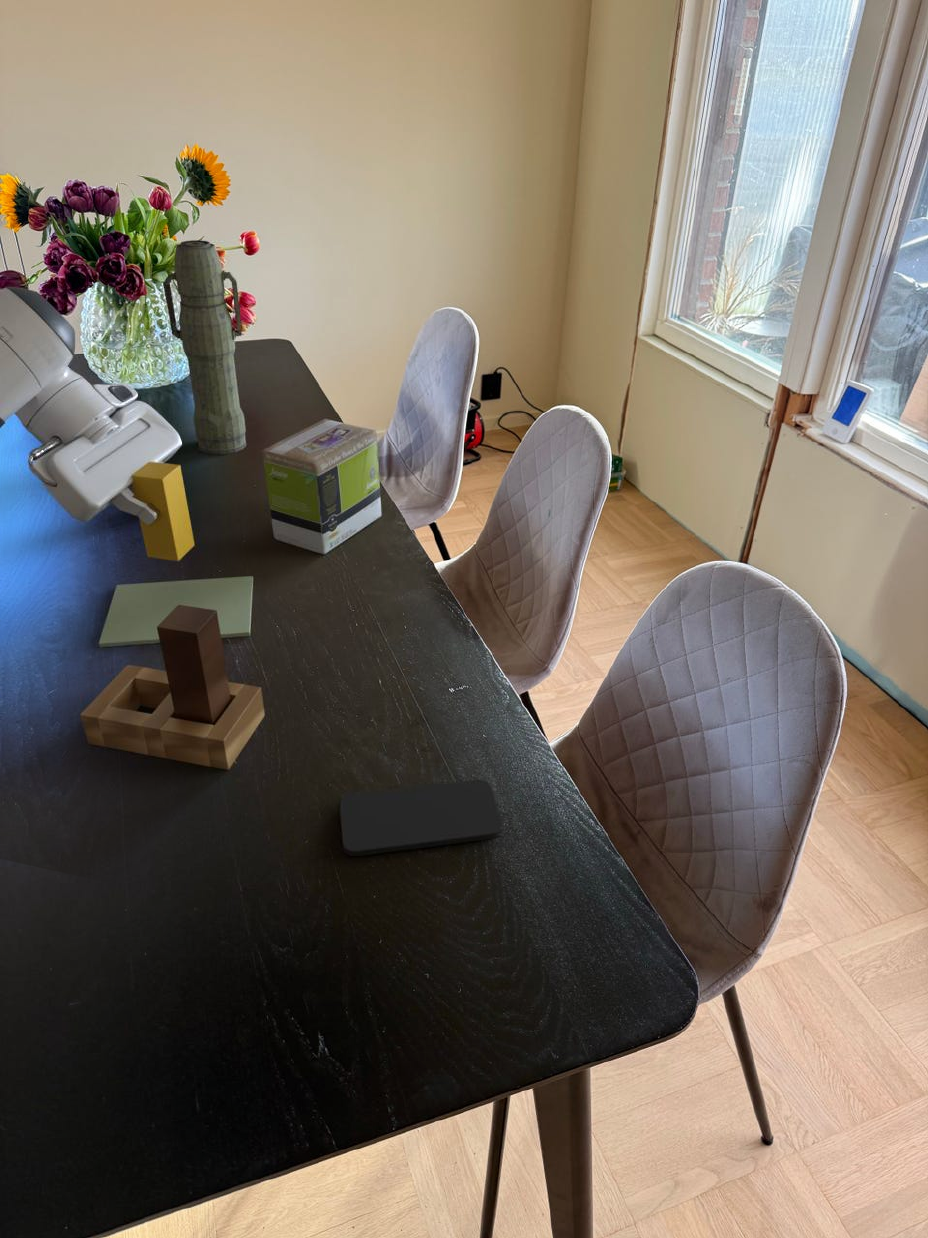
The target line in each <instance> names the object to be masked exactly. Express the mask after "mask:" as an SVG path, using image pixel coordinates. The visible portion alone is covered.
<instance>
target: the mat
mask: <svg viewBox="0 0 928 1238" xmlns="http://www.w3.org/2000/svg"><path fill="white" fill-rule="evenodd" d="M253 591H254V576H253V575H249V576H232V577H231V576H230V577H218V578H217V577H216V578H203V579H202V578H201V579H188V580H169V581H158V582H141V583H140V582H139V583H125V584H116V587H115V590H114V593H113V596H112V599H111V603H110V606H109V608H108V612H107V616H106V619H105V621H104V625H103V628H102V631H101V635H100V638H99V641H98V648H112V647H122V646H124V647H125V646H137V645H149V644H160V640H159V635H158V630H157V626H158V625H159V624H160V623H161V622H162V621H163V620H164V619H165V618H166V617H167V616H168V615H169V614H170V613H171V612H172V611H173V610H174V609H175V607H176V606H177V605H185V606H191V607H198V608H204V609H211V610H217V615H218V621H219V627H220V634H221V639H228V638H242V637H250V636H251V628H252V627H251V624H252V607H253Z"/></svg>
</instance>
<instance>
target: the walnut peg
mask: <svg viewBox="0 0 928 1238" xmlns="http://www.w3.org/2000/svg"><path fill="white" fill-rule="evenodd" d="M157 630H158V635H159V640H160V643H159V644H160V649H161V654H162V658H163V659H162V660H163V663H164V667H165V671H166V674H167V678H168V683H169V688H170V693H171V697H172V702H173V707H174V712H175V717H176V719H182V720H188V721H193V722H199V723H204V724H210V725H215V724H216V723H217V721H218V720H219V719H220V717H221V716H222V714H223V713H224V712H225V710H226V709H227V708H228V706H229V705H230V703H231V696H230V690H229V684H228V682H229V677H228V671H227V665H226V659H225V653H224V647H223V641H222V638H221V634H220V627H219V621H218V615H217V610H211V609H204V608H198V607H191V606H185V605H177V606H176V607H175V609H174V610H173V611H172V612H171V613H170V614H169V615H168V616H167V617H166V618H165V619H164V620H163V621H162V622H161V623H160V624H159V625H158V626H157Z"/></svg>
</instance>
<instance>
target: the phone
mask: <svg viewBox="0 0 928 1238" xmlns="http://www.w3.org/2000/svg"><path fill="white" fill-rule="evenodd" d="M499 812H500V811H499V809H498V805H497V802H496V798H495V794H494V792H493V788H492V785H491V784H490V783H489V781H487V780H484V779H471V780H461V781H454V782H445V783H438V784H436V783H435V784H430V785H429V784H428V785H421V786H410V787H403V788H395V789H387V790H378V791H369V792H360V793H353V794H348V795H345V796H343V797H342V798H341V799H340V801H339V818H340V819H339V821H340V831H341V842H342V850H343V852H344V853H345V854H346V855H348V856H350V857H363V856H369V855H377V854H384V853H392V852H402V851H407V850H416V849H424V848H430V847H439V846H447V845H453V844H454V845H456V844H463V843H470V842H477V841H485V840H492V839H495V838H497V837H499V836H500V835H501V833H502V830H503V829H502V827H503V824H502V820H501V816H500V813H499Z"/></svg>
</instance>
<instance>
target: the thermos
mask: <svg viewBox="0 0 928 1238" xmlns="http://www.w3.org/2000/svg"><path fill="white" fill-rule="evenodd" d="M173 257H174V262H173V266H174V272H173V273H169V274H167V277H166V278H165V279H164V281H163V283H162V286H163V292H164V297H165V301H166V307H167V312H168V318H169V323H170V331H171V334H172V335H173V336H174V337H175V338H176V339H178V340H179V339H180V341H181V344H182V350H183V353H184V354H185V356H186V358H187V365H188V372H189V377H190V385H191V391H192V397H193V404H194V411H193V418H192V419H193V423H194V424H193V425H194V430H195V437H197V442H198V443H197V444H198V449H199V450H200V451H201V452H202V453H205V454H208V455H209V454H210V455H217V456H218V455H221V456H222V455H230V454H234V453H237V452H240V451H242V450H243V449H245V448H246V447H247V440H246V432H247V429H246V421H245V415H244V412H243V410H242V408H241V405H240V398H239V389H238V380H237V374H236V366H235V358H234V357H235V351H236V342H235V340H236V339H237V337H241V336H243V335H242V334H243V329H242V316H241V309H240V308H241V307H240V300H239V299H240V297H239V290H238V283H237V279H236V278H235V277H234V276H233V274H232V273H231V272H230V271H225V270H224V269H223V265H222V260H221V258H220V255H219V253H218V250H217V249H216V246H215V244H214V243H212V242H211V243H210V241H208V240H199V239H198V240H197V239H194V240H193V239H192V240H184V241H181V242H180V243H179V244H177V245H175V251H174V256H173ZM227 279H229V281H230V282H231V289H232V297H233V298H232V299H233V306H234V314H235V323H236V327H235V326H234V325H233V318H232V316H231V314H230V311H229V308H228V306H227V300H226V299H225V293H226V290H225V289H226V288H225V281H226V280H227ZM173 280H174V281H175V282H176V286H177V287H176V288H177V293H178V295H179V297H180V301H179V307H180V311H179V315H178V316H179V317H178V324H179V329H178V325H177V317H176V312H175V307H174V301H173V300H174V299H173V293H172V287H171V282H172V281H173Z"/></svg>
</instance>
